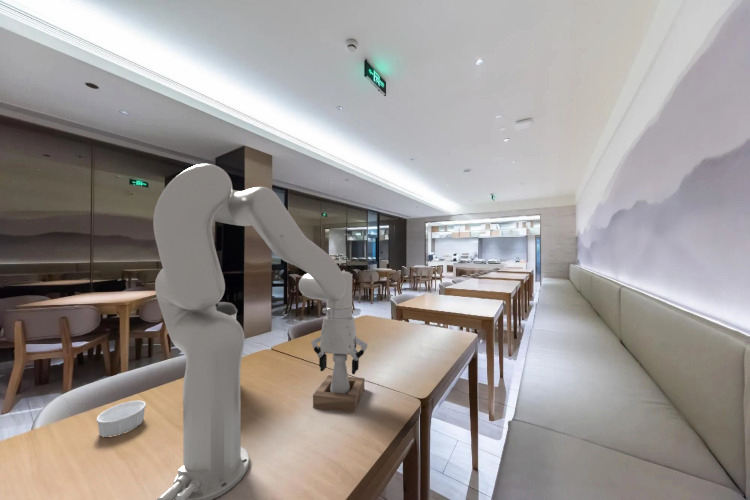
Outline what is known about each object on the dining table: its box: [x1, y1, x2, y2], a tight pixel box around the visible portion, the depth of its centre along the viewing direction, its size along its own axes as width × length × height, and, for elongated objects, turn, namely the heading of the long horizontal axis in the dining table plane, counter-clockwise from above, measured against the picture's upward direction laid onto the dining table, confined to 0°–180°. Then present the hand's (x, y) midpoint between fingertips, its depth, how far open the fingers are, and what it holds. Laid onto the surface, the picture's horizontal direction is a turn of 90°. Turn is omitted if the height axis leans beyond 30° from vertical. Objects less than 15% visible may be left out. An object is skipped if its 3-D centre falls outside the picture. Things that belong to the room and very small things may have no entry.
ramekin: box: [96, 400, 147, 438], centre depth 65 cm, size 9×9×4 cm
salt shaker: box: [330, 354, 350, 394], centre depth 77 cm, size 6×6×13 cm
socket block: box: [312, 374, 365, 413], centre depth 77 cm, size 12×12×4 cm
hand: (338, 370), depth 77 cm, fingers open, 9 cm apart
